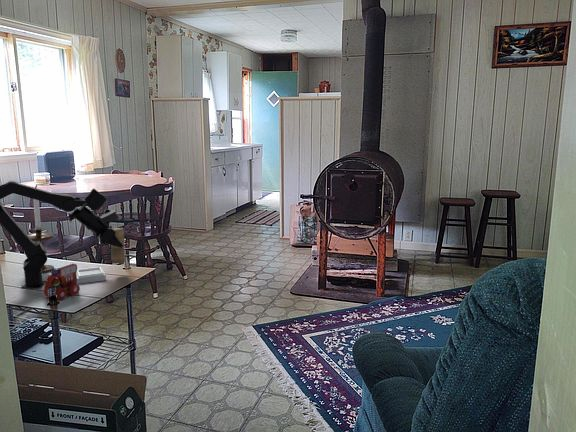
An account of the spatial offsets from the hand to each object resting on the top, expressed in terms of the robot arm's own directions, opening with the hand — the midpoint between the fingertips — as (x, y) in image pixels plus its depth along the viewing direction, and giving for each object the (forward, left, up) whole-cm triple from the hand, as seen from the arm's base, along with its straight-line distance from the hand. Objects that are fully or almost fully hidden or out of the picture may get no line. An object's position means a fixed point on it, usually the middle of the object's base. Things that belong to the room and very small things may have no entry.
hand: (121, 245), depth 183 cm
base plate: (-5, +11, -12) cm, 17 cm away
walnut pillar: (-1, +1, -7) cm, 7 cm away
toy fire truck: (-24, +14, -12) cm, 30 cm away
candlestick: (+5, +33, -12) cm, 36 cm away
